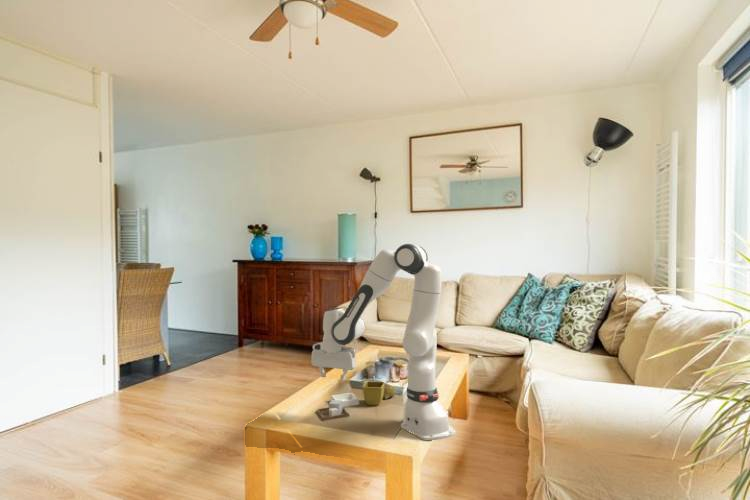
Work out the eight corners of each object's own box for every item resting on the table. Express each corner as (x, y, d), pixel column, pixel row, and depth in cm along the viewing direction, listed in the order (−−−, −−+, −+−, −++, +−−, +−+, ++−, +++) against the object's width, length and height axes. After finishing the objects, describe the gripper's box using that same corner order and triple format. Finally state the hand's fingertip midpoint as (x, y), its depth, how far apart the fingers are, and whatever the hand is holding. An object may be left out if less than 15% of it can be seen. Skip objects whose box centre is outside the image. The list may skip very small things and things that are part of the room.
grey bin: (359, 405, 181) (358, 398, 181) (337, 409, 177) (337, 402, 177) (351, 398, 190) (351, 392, 190) (331, 402, 187) (331, 395, 187)
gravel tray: (349, 417, 167) (349, 413, 167) (323, 421, 163) (323, 418, 163) (341, 408, 177) (341, 405, 178) (317, 412, 173) (317, 409, 173)
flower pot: (381, 408, 178) (381, 387, 178) (362, 407, 179) (362, 386, 180) (385, 401, 186) (385, 381, 187) (367, 400, 188) (366, 381, 188)
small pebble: (338, 417, 167) (338, 409, 167) (331, 418, 165) (331, 411, 165) (335, 414, 169) (335, 407, 169) (329, 416, 168) (329, 408, 168)
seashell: (385, 409, 188) (395, 397, 186) (373, 399, 188) (383, 387, 186) (389, 398, 197) (398, 387, 195) (377, 389, 198) (387, 378, 195)
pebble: (342, 411, 173) (342, 400, 174) (339, 414, 169) (338, 404, 169) (332, 410, 174) (332, 399, 175) (329, 414, 170) (328, 403, 170)
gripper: (358, 346, 172) (358, 378, 171) (316, 342, 180) (316, 373, 179) (351, 349, 166) (351, 382, 165) (309, 345, 174) (309, 377, 173)
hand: (333, 378), depth 172 cm, fingers open, 8 cm apart
